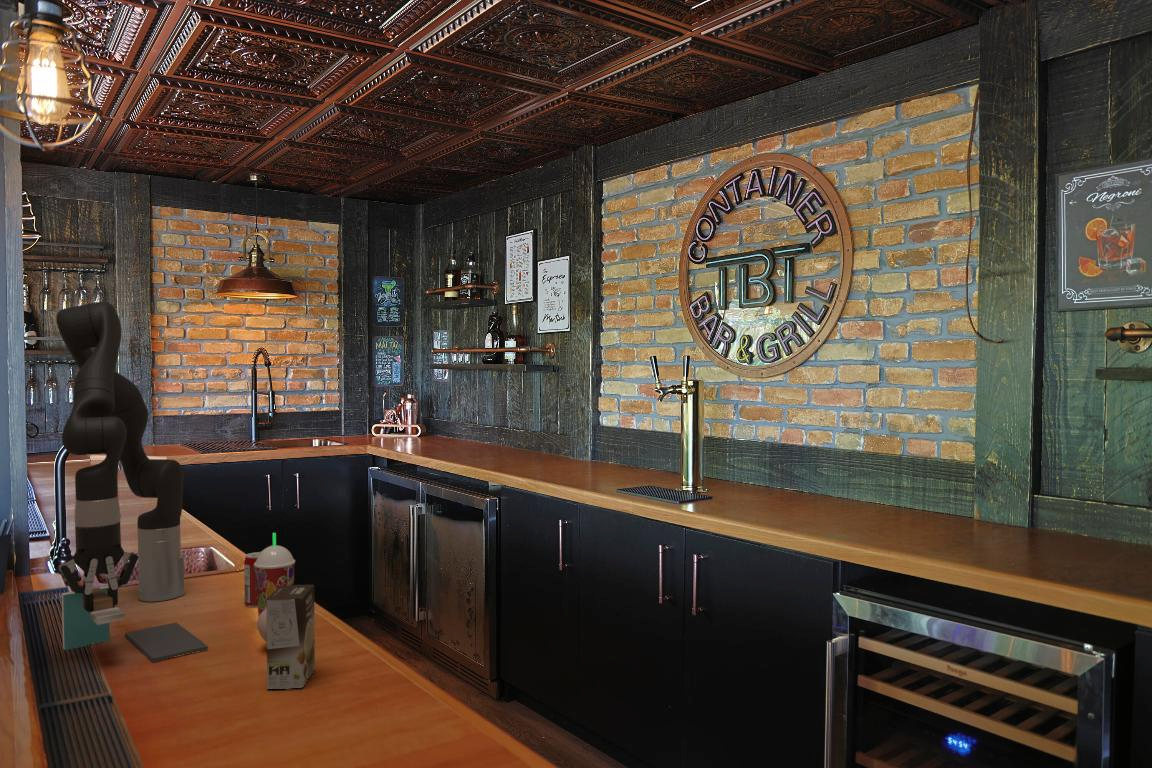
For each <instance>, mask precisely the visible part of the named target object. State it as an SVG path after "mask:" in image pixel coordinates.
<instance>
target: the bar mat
mask: <svg viewBox="0 0 1152 768" xmlns="http://www.w3.org/2000/svg"><path fill="white" fill-rule="evenodd" d="M124 637H125V638H126V639H127V640H128V641H129V642H131V644H132V645H133V646H134V647H136V648H137V649H138V650H139V651H140V652H141V653H142V654H143V655H144V656H145V657H146V658H147V659H148V660H150V662H152V663H153V664H154V663H158V662H157V661H159V662H162V661H161V660H163V661H165V660H164V659H167V658H171V657H174V656H178V655H182V654H187V653H192V652H197V651H202V650H207V649H208V650H209V646H208V645H207V644H206V643H205V642H203V641H202V640H200V639H199V638H197V637H196V636H195V635H193V634H192V632H190V631H188V630H187V629H186V628H184V626H182V625H181V624H180V623H178V622H172V623H166V624H162V625H157V626H153V627H152V626H151V627H146V628H141V629H137V630H132V631H127V632H124ZM208 650H207V651H208ZM202 652H203V651H202ZM167 660H168V659H167Z"/></svg>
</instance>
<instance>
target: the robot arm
mask: <svg viewBox="0 0 1152 768" xmlns="http://www.w3.org/2000/svg"><path fill="white" fill-rule="evenodd" d="M121 324H122V323H121V321H120V317H119V315H118V311H117V310H116V308H115V307H114V306H113V304H112V303H110V302H108V301H96V302H91V303H86V304H81V305H76V306H71V307H66V308H64V309H61V310H59V311H58V312H57V313H56V325H57V330H58V331H59V335H60V336H61V339H62V341H63V343H64V344H65V346H66V348H67V350H68V352H69V354H70V355H71V357H72V359H73V360H74V362H75V364H76V366H77V367H78V369H79V370H78V372H77V373H76V375H75V377H74V378H75V379H74V381H73V403H72V405H73V406H72V409H71V411H70V414H69V417H68V419H67V420H66V422H65V424H64V427H63V430H62V434H61V442H62V445H63V448H64V449H65V450H66V451H67V453H69V454H71V455H74V456H82V455H83V456H85V455H102V454H105V458H104V459H103V460H102V461H101V462H99V463H96V464H93V465H88V466H85V467H81V468H79V469H77V471H76V472H75V474H74V475H75V476H74V485H75V486H74V487H75V488H74V489H75V504H74V505H75V507H74V533H75V536H74V538H75V552H74V554H73V556H72V559H71V560H69V561H67V562H65V563H59V564H58V570H59V571H60V573H61V575H62V577H63V578H64V579H65V581H66V583H67V585H68V586H69V588H70V590H71V592H75V593H82V594H83V608H84V609H85V610H86V611H87V612H88V613H89V614H90V612H93V593H92V588H94V587H93V585H94V582H95V578H96V576H97V575H98V576H99V575H101V574H104V575H105V578H106V581H107V587H109V588H108V589H107V595H108V596H110V597H111V598H113V608H115V607H116V606H117V605H118V603H119V595H118V593H119V592H118V590H119V588H120V587H122V586H124V585H127V584H128V583H129V581H130V579H131V576H132V574H133V571H134V569H135V567H136V565H137V562H138V600H139V601H142V602H152V603H153V602H162V601H168V600H172V599H176V598H178V597H182V596H184V595H185V560H184V559H185V558H184V555H182V552H181V551H182V549H181V548H182V544H181V543H182V542H181V541H182V540H181V537H182V536H181V517H182V513H183V512H182V511H183V505H184V504H183V498H184V497H183V496H184V473H183V471H184V470H183V468H182V465H181V464H180V462H179V461H177V460H176V459H165V458H164V459H163V458H162V459H161V458H160V459H159V458H158V459H155V458H149V457H148V456H147V454H146V452H145V449H144V448H143V447H144V446H143V443H142V439H143V436H144V433H145V431H146V429H147V425H148V421H149V411H148V407H147V405H146V402H145V400H144V398H143V396H142V393H141V391H140V389H139V387H138V386H137V385H136V384H134V382H132V381H131V380H130V379H128V378H127V377H125V376H124V375H123V374H120V373H119V372H118V371H116V368H117V367H116V366H117V361H118V358H119V353H120V348H121V340H122V325H121ZM93 348H95V349H94V350H92V349H93ZM119 464H120V465H121V468H122V470H123V474H124V476H125V480H126V482H127V485H128V487H129V489H130V491H131V492H132V493H133V495H135V496H136V497H139V498H146V499H152V498H153V499H155V498H156V499H157V500H156V506H155V508H153V509H152V510H149V511H147V512H144V513H141V514H139V516H138V517H137V523H136V525H137V554H136V553H135V552H133V551H132V552H126V551H125V550H124V549H123V547H122V541H121V540H122V535H121V533H122V531H121V518H122V517H121V516H122V513H121V508H120V501H119V487H118V486H119V484H118V482H119V481H118V473H119V467H120V465H119ZM121 560H122V562H123V563H124V564H123V567H122V568H121V571H120V574H119V576H118V578H117V573H116V569H115V568H116V567H117V565H118V564H119V562H120V561H121ZM75 566H78V567H79V568H80V569H81V570H82V571H83V575H82V584H79V583H78V581H77V580H76V578H75V576H74V575H73V574H74V572H75Z"/></svg>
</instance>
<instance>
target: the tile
mask: <svg viewBox="0 0 1152 768" xmlns="http://www.w3.org/2000/svg"><path fill="white" fill-rule="evenodd" d="M94 588H95V587H92V589H94ZM97 588H100V589H102V590H103V591H104V592H105V593H106V594H107V589H108V588H109V586H108V585H105V586H99V587H97ZM61 621H62V622H61V623H62V624H61V625H62V629H61V630H62V650H64V651H68V650H74V649H78V648H83V647H87V645H88V646H90V645H89V644H92V643H98V644H100V643H99V642H103V643H106V642H105V641H108V642H111V638H110V637H111V636H110V635H111V633H110V631H111V630H110V629H111V628H110V623H105V624H100V625H97V624H96V623H95V622H94V621H93V620H92V619H91V614H89V613H88V612H87V611H86V610H85V609H84V608H83V602H82V593H75V592H74V591H70V592H69V591H68V592H63V593H61Z"/></svg>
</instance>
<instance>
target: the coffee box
mask: <svg viewBox="0 0 1152 768" xmlns="http://www.w3.org/2000/svg"><path fill="white" fill-rule="evenodd" d="M266 608H267V642H266V681H267V684H266V685H267V686H266V687H267V689H286V690H290V689H289V688H300V687H304V688H305V686H306V685H307V683H308V682H309V680H310V678H311V677H312V675H313V674H314V672H315V671H316V649H315V648H316V646H315V645H316V640H315V637H316V634H315V628H316V625H315V623H316V622H315V621H316V620H315V615H316V614H315V584H294V585H291V586H280V587H279V588H278V589H277V590H276V591H274V592H273V593H272V594H271V595H270V596H269V597H268V598H267V599H266ZM314 670H315V671H314ZM313 671H314V672H313ZM312 673H313V674H312ZM311 674H312V675H311ZM310 676H311V677H310ZM309 677H310V678H309ZM308 679H309V680H308ZM306 682H307V683H306ZM304 685H305V686H304ZM267 689H266V690H267Z"/></svg>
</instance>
